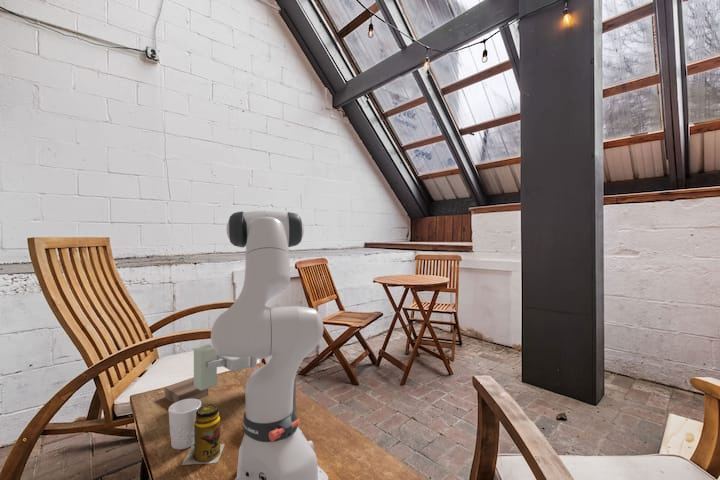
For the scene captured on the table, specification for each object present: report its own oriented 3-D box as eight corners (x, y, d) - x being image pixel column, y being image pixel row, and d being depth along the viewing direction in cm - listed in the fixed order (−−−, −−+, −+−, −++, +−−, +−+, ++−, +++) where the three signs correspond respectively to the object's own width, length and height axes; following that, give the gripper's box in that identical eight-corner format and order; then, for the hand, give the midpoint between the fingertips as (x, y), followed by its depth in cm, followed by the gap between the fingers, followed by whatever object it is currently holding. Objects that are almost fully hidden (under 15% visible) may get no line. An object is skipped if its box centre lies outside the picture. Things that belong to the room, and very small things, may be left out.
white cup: (163, 444, 91) (162, 407, 91) (191, 430, 98) (191, 395, 98) (178, 455, 87) (178, 416, 87) (207, 439, 93) (207, 403, 93)
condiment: (217, 463, 84) (217, 415, 84) (181, 465, 83) (180, 417, 83) (225, 444, 92) (225, 400, 91) (191, 447, 90) (191, 402, 90)
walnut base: (208, 396, 119) (208, 384, 119) (178, 407, 111) (178, 395, 111) (193, 388, 125) (193, 377, 125) (165, 398, 117) (164, 387, 117)
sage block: (216, 385, 108) (216, 347, 108) (200, 390, 104) (200, 351, 104) (209, 380, 112) (209, 344, 111) (193, 386, 108) (193, 348, 108)
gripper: (227, 336, 124) (188, 345, 114) (258, 348, 111) (217, 360, 101) (227, 353, 125) (188, 364, 114) (259, 367, 111) (217, 381, 101)
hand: (202, 362), depth 107 cm, fingers closed on sage block, 5 cm apart
